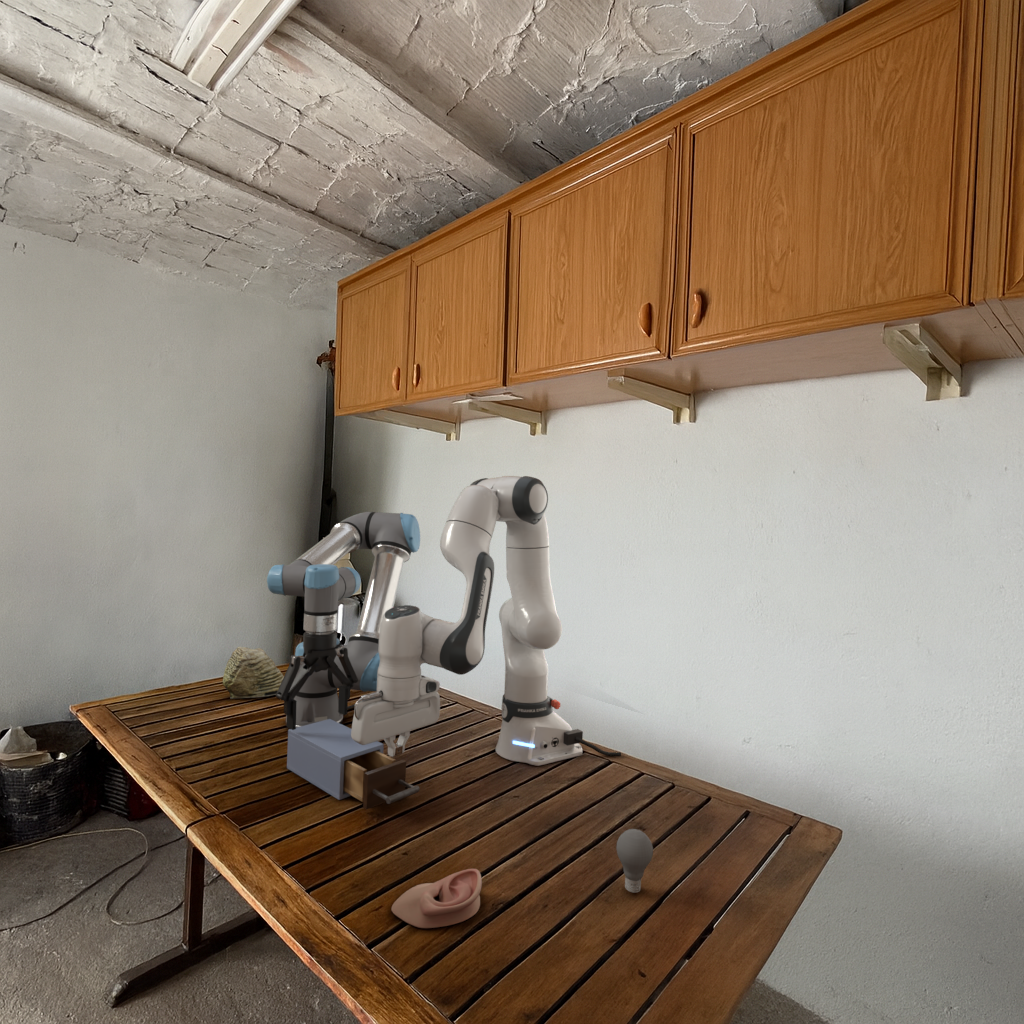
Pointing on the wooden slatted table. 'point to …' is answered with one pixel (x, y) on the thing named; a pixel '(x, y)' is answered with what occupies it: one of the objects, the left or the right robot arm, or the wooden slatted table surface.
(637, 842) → the light bulb
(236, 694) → the fossil
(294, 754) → the cabinet
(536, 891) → the wooden slatted table surface
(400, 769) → the drawer
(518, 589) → the right robot arm
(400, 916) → the anatomical model
